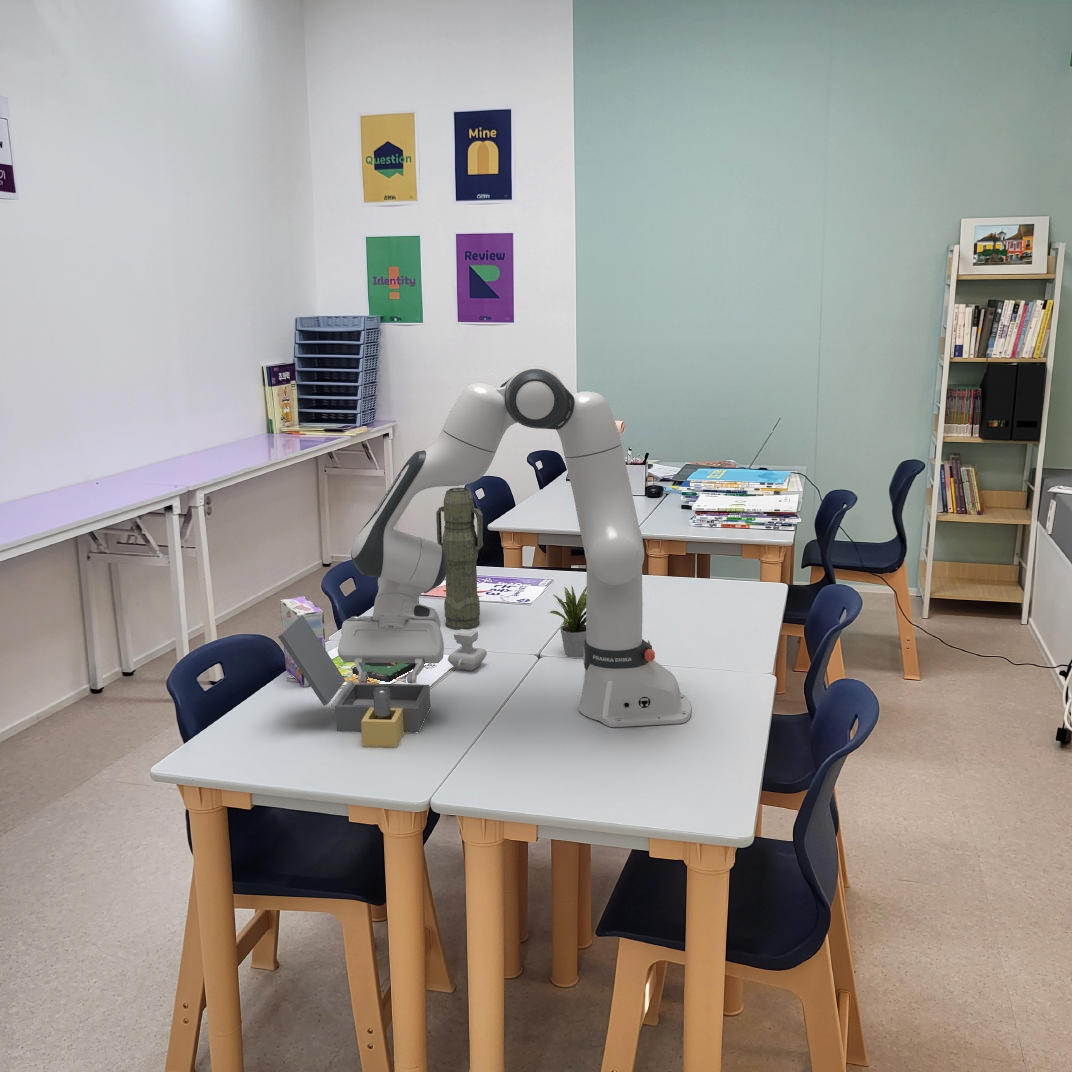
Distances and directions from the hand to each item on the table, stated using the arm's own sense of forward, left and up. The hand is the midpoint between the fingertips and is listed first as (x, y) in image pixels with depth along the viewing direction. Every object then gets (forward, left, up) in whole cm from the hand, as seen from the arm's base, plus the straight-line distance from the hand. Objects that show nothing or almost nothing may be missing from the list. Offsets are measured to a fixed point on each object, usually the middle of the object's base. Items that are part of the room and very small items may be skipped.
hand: (386, 682), depth 187 cm
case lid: (+16, -6, +2) cm, 17 cm away
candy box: (+25, -28, -10) cm, 39 cm away
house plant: (-34, -44, -10) cm, 56 cm away
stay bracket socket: (0, +3, -10) cm, 11 cm away
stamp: (-10, -35, -10) cm, 38 cm away
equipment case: (+2, -6, -10) cm, 12 cm away
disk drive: (+7, -32, -11) cm, 35 cm away
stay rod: (0, +3, -10) cm, 11 cm away
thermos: (-4, -65, -10) cm, 66 cm away
